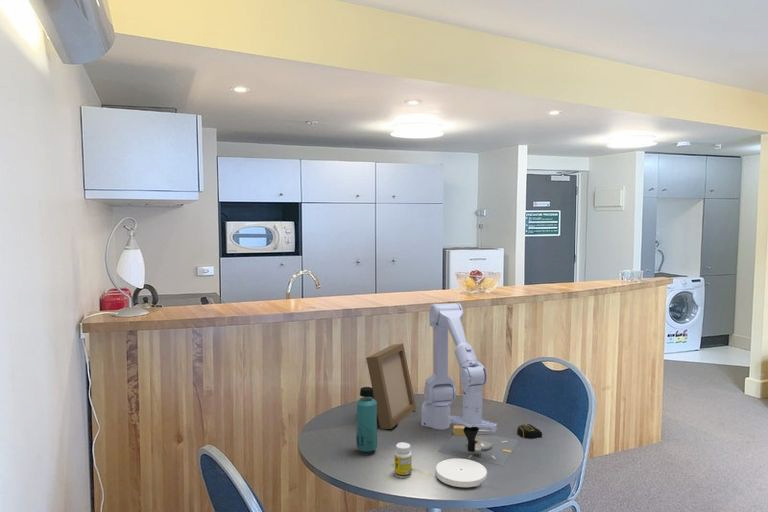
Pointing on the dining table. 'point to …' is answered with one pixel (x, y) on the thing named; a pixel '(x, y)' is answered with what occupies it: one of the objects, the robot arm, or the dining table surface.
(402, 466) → the supplement bottle
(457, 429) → the screwdriver
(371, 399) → the beverage bottle
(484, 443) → the silver rounded piece
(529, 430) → the tape measure
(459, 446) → the panel
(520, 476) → the dining table surface
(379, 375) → the photo frame
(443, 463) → the plastic lid
